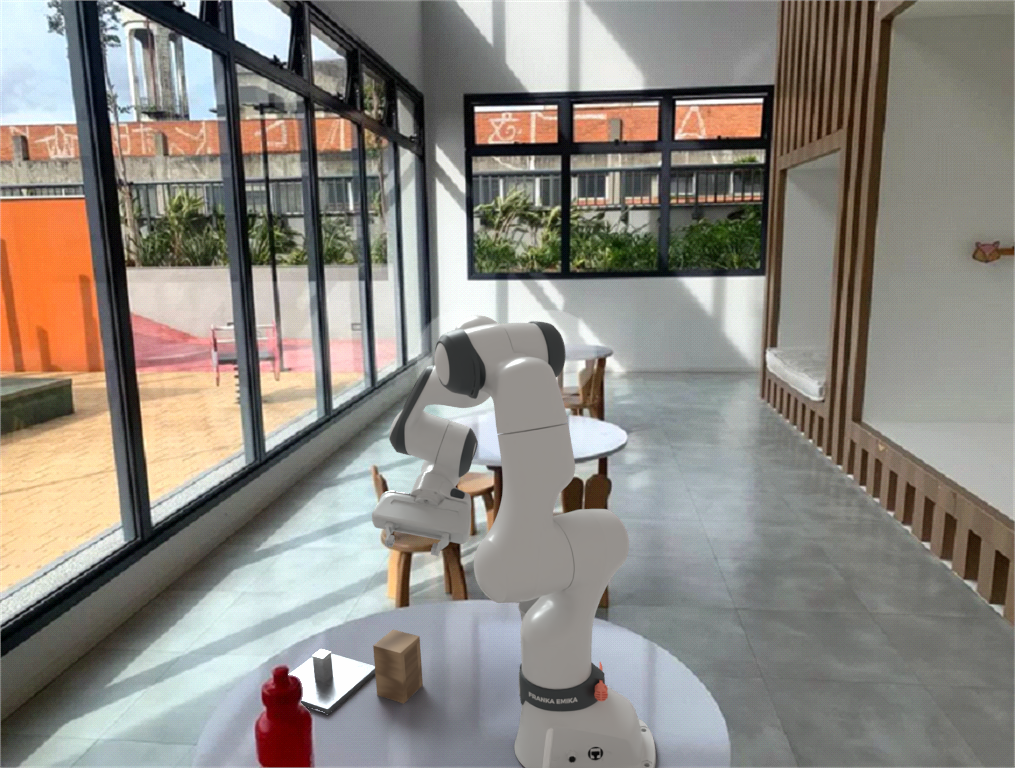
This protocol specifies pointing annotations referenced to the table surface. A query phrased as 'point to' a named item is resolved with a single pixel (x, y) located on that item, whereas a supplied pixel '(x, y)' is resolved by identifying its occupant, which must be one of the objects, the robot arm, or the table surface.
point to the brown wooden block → (398, 665)
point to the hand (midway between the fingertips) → (411, 549)
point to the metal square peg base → (330, 679)
